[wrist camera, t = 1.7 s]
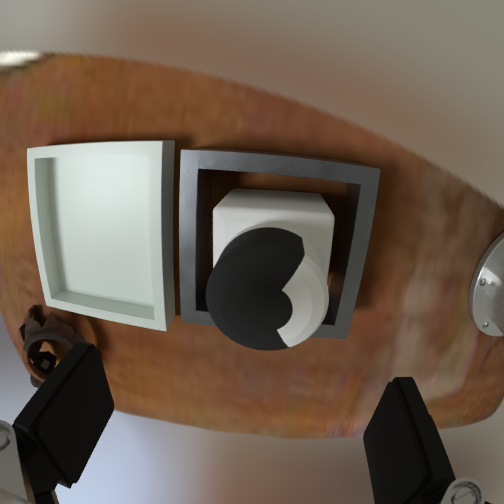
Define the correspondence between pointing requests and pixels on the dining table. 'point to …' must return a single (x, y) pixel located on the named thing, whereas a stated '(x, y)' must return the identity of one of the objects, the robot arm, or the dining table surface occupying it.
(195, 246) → the holder
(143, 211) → the tray
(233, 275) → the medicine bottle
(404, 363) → the dining table surface
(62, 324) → the broken pottery ring
